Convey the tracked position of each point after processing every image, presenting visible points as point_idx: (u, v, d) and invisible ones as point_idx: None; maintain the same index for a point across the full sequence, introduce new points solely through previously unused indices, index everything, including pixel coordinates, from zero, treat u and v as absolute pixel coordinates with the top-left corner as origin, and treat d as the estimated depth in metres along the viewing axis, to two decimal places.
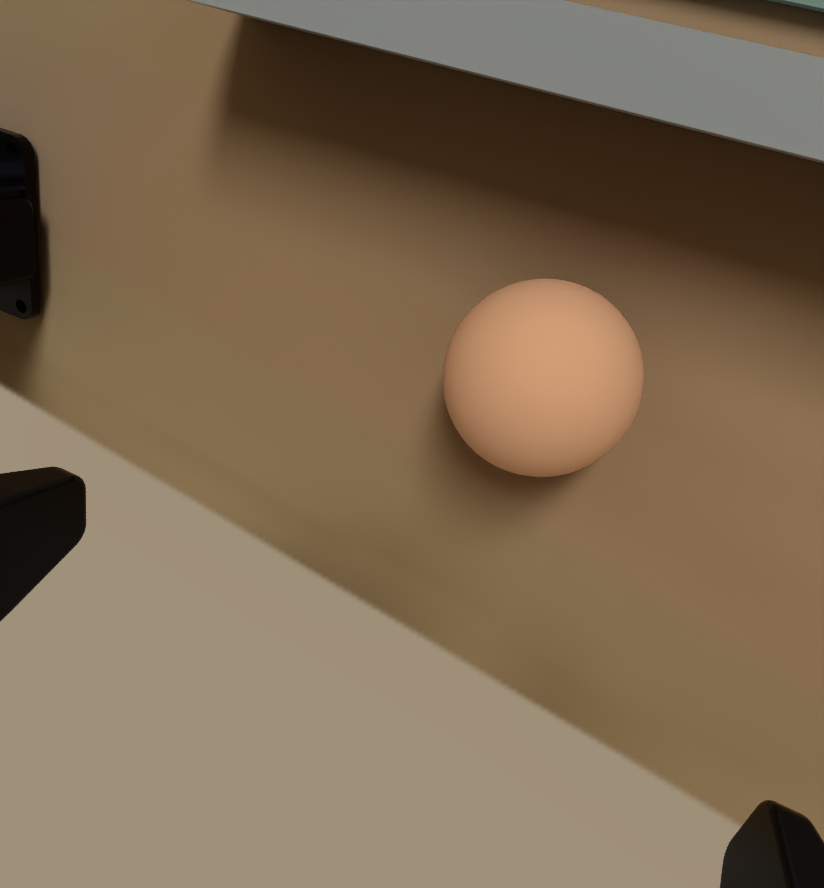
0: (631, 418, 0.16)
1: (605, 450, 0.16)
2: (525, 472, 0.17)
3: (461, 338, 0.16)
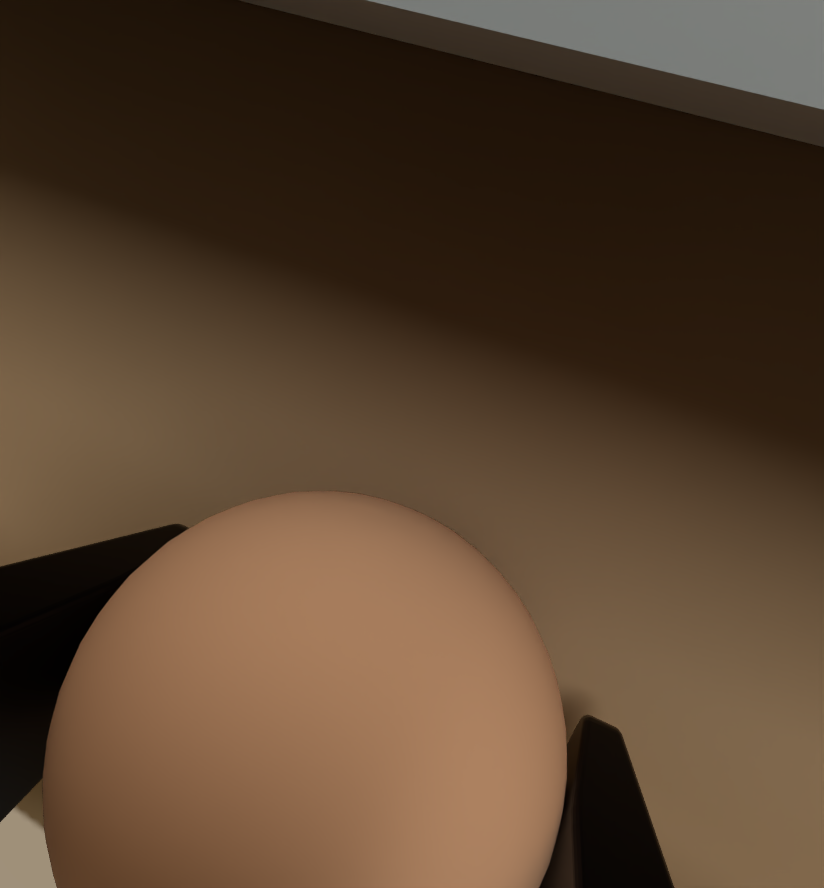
0: None
1: None
2: None
3: (64, 681, 0.06)
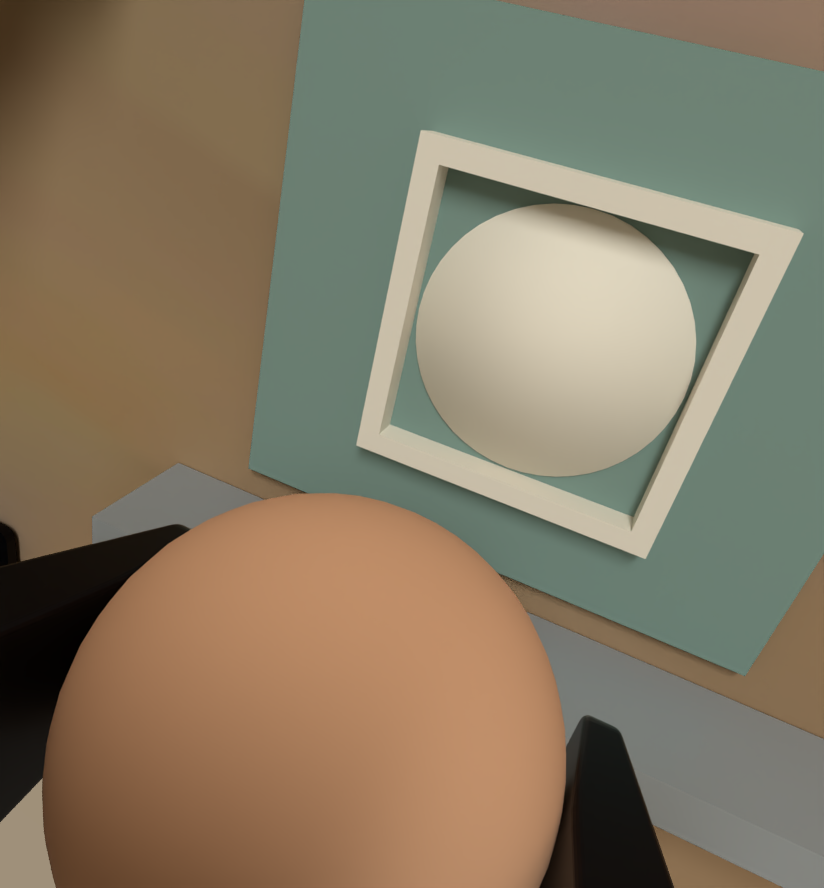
0: None
1: None
2: None
3: (64, 683, 0.06)
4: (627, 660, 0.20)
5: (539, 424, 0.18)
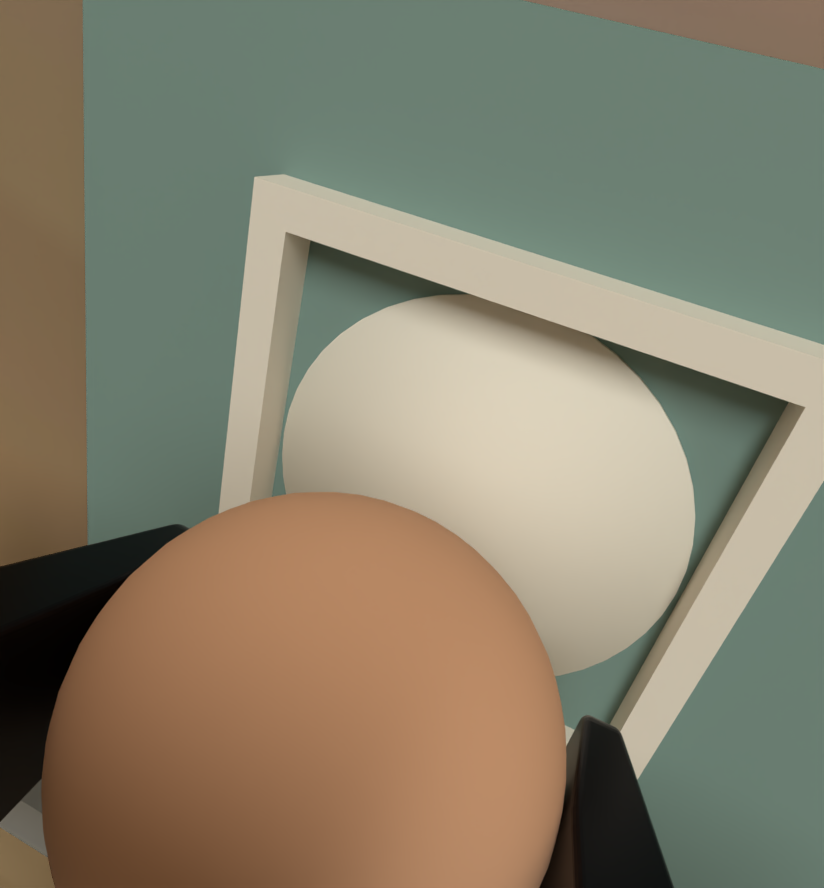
0: None
1: None
2: None
3: (64, 682, 0.06)
4: None
5: None
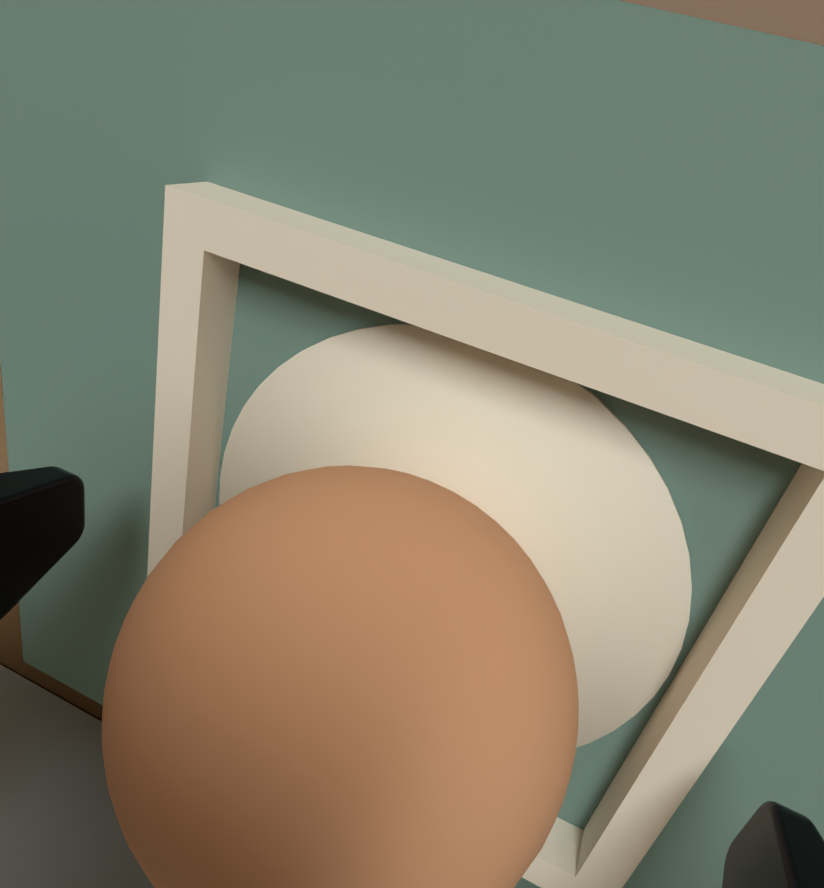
0: (541, 846, 0.06)
1: None
2: None
3: (120, 635, 0.07)
4: None
5: None
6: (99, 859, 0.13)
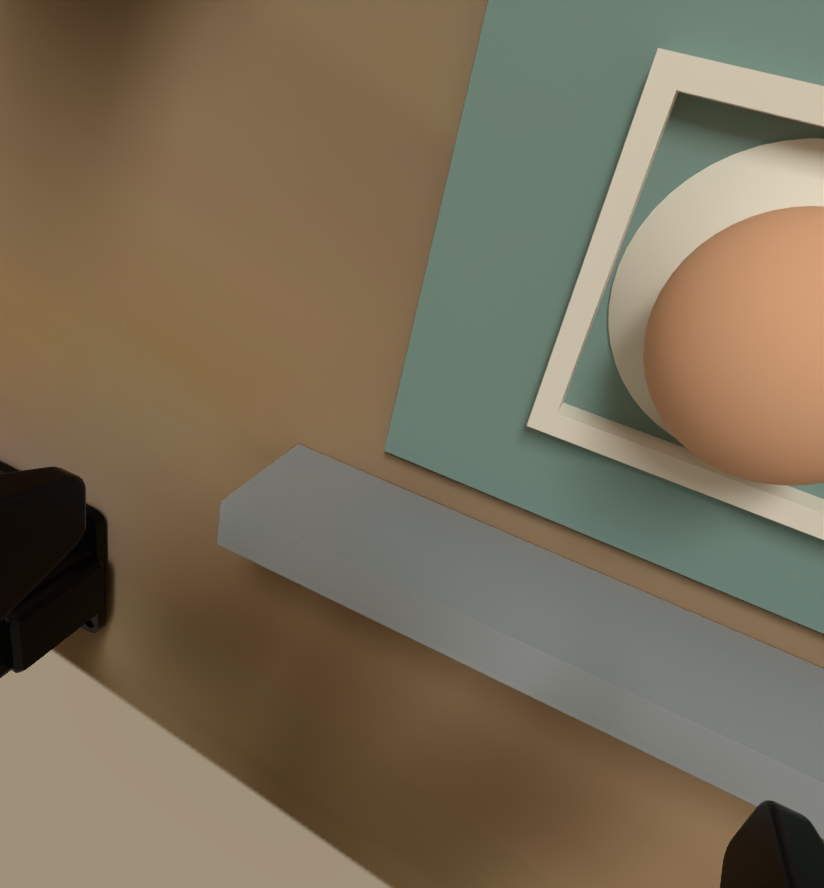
0: None
1: None
2: (776, 479, 0.12)
3: (694, 289, 0.11)
4: None
5: None
6: (474, 572, 0.18)
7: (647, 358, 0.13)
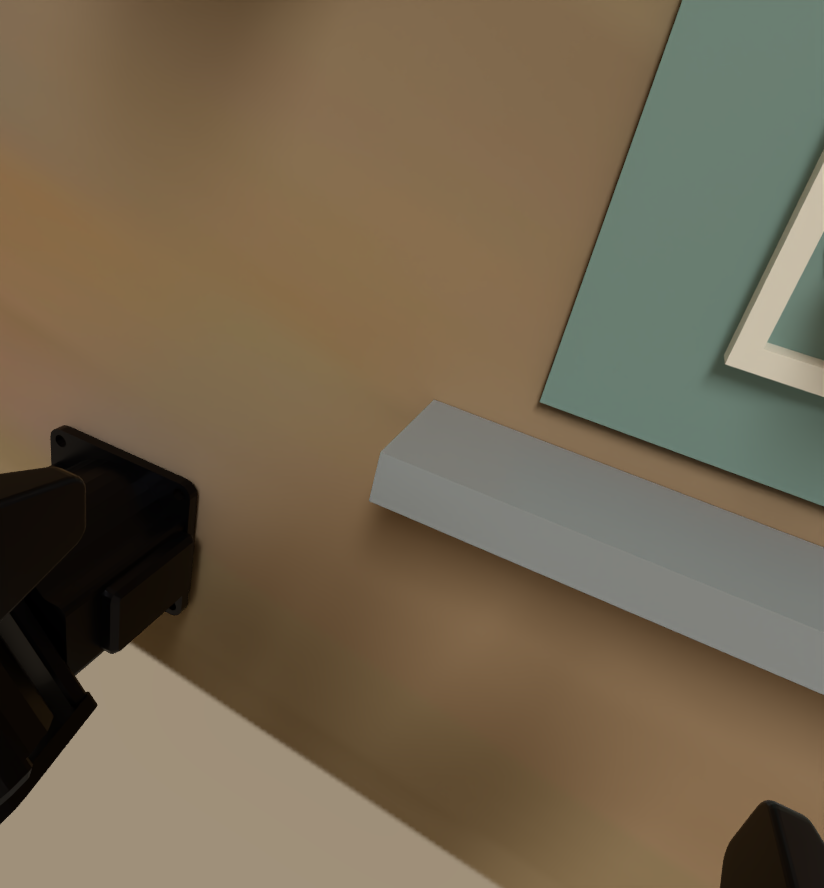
0: None
1: None
2: None
3: None
4: None
5: None
6: (657, 526, 0.17)
7: None
